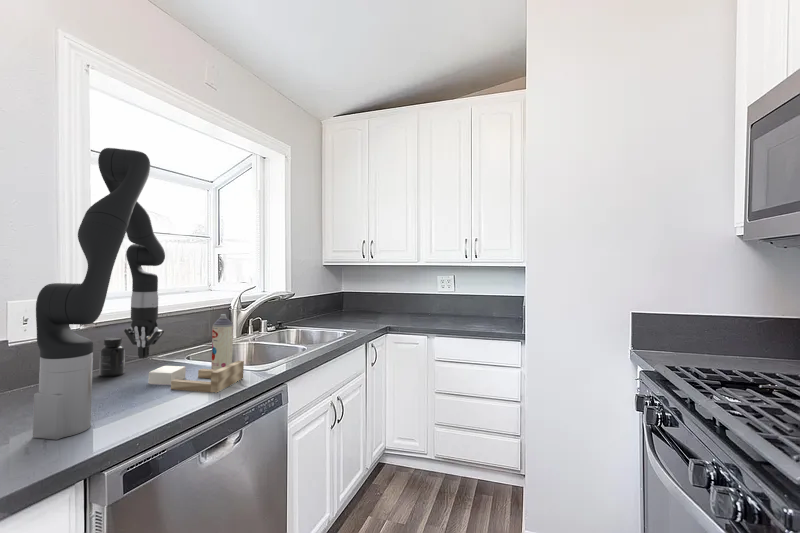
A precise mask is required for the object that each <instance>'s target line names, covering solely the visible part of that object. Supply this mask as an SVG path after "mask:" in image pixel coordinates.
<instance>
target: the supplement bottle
mask: <svg viewBox="0 0 800 533" xmlns="http://www.w3.org/2000/svg"><path fill="white" fill-rule="evenodd" d="M122 339H123V338H122V337H109V338H104V339H103V340H104V341H103V347H102V348H101V349H100V351H99V371H98V372H99V376H100V377H103V378H104V377H105V378H110V377H117V376H120V375H121V376H122V375H123V374H124V373H125V363H126V362H125V358H126V350H125V349H126V348H125V347H124V346H123V340H122Z"/></svg>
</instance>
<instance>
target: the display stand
mask: <svg viewBox="0 0 800 533" xmlns="http://www.w3.org/2000/svg"><path fill="white" fill-rule="evenodd" d="M244 362H245V361H243V360H237V361H234V362H232V364H229V365H227V366H225V367H223V368H220V369H218V370H215V369H210V368H200V369H198V371H197V372H198V373H197V378H201V379H210V381H203V380H191V379H182V380H180V379H175V380H172V381H171V385H170V390H177V391H188V392H199V391H200V393H201V392H202V393H213V392H215V393H216V394H218V393H219V391H220V390H221V391H223V390H225V389H227V388H229V387H231V386H233V385H234V383H235V384H237V383H238V382H240V381H242V380H243V379H244V366H245V363H244ZM242 378H243V379H242ZM241 379H242V380H241ZM239 380H240V381H239ZM237 381H238V382H237ZM236 382H237V383H236ZM232 384H233V385H232ZM230 385H231V386H230ZM228 386H229V387H228ZM226 387H227V388H226ZM224 388H225V389H224ZM222 389H223V390H222ZM221 391H220V392H221ZM217 392H218V393H217ZM215 393H214V394H215Z"/></svg>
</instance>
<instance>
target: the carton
mask: <svg viewBox="0 0 800 533" xmlns="http://www.w3.org/2000/svg"><path fill="white" fill-rule="evenodd" d="M186 369H187V368H186V366H183V365H182V366H178V365H163V366H160V367H158V368H156V369H153V370H151V371H149V372H148V381H147V382H148V385H164V386H165V385H166V386H167V385H168V386H171V381H172V380H175V379H180V380H185V379H186V372H187V370H186Z"/></svg>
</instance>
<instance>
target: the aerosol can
mask: <svg viewBox="0 0 800 533" xmlns="http://www.w3.org/2000/svg"><path fill="white" fill-rule="evenodd" d="M211 334H212V339H211V340H212V341H211V369H215V370H218V369H220V368H223V367H225V366H227V365H229V364H232V363H233V346H234V343H233V342H234V324H233V322H232V321H231V320H230V319H229V318H228V317H227V314H226V313H225V314H224V313H223V314H222V313H221V314H220V317H219V318H218V319H216V321H215V322H213V323H212V333H211Z"/></svg>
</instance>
